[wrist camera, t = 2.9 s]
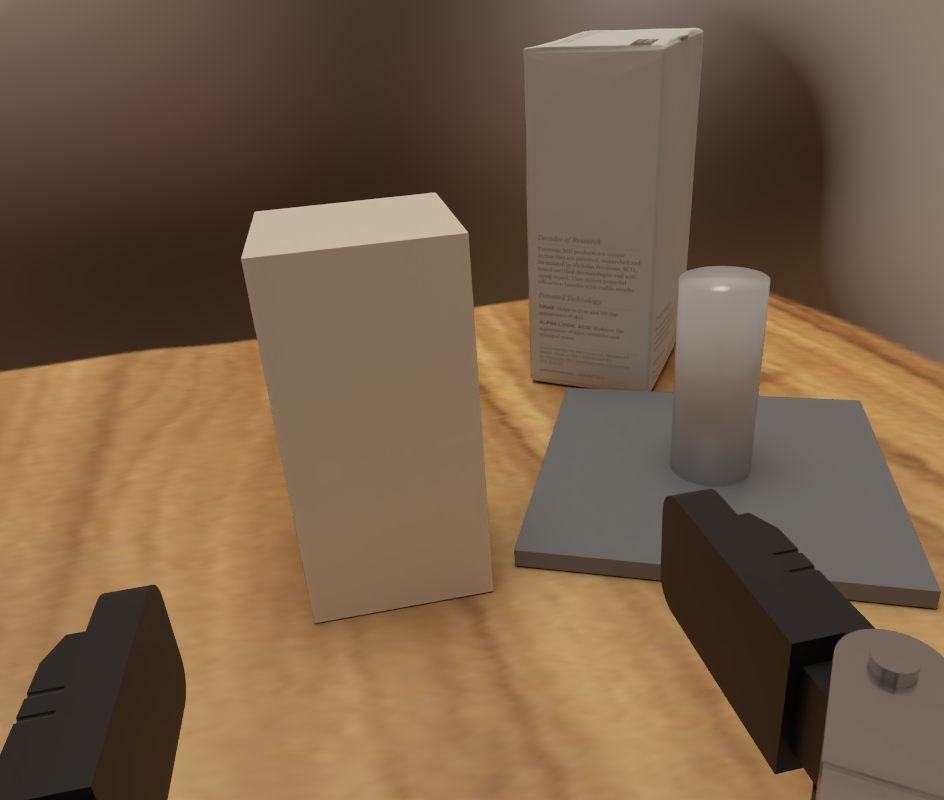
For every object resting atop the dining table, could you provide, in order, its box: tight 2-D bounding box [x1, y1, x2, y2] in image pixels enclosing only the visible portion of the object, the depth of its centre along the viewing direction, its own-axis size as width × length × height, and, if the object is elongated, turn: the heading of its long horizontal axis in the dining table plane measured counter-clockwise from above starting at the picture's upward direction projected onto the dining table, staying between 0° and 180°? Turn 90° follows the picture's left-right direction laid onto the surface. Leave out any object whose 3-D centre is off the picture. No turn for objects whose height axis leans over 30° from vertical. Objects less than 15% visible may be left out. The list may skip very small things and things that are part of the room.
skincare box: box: [524, 28, 703, 391], centre depth 36 cm, size 8×6×15 cm
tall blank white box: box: [241, 193, 493, 623], centre depth 23 cm, size 5×5×11 cm
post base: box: [514, 266, 941, 609], centre depth 27 cm, size 12×12×8 cm
